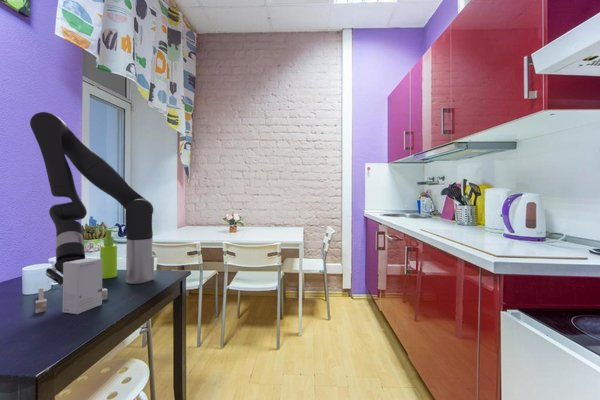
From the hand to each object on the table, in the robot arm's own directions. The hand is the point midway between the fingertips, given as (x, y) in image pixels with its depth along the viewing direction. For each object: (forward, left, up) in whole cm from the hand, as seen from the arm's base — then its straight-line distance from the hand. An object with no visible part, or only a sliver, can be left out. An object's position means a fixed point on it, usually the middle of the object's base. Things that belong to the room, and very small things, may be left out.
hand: (73, 293), depth 87 cm
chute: (0, -11, -4) cm, 12 cm away
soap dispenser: (-14, -31, -4) cm, 34 cm away
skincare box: (-2, +3, -4) cm, 6 cm away
